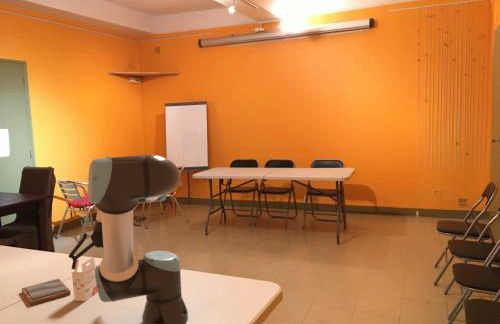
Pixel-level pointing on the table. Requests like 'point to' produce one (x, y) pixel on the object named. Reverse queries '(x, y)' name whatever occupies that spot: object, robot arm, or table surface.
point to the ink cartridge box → (85, 281)
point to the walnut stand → (45, 291)
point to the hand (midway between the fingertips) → (93, 281)
